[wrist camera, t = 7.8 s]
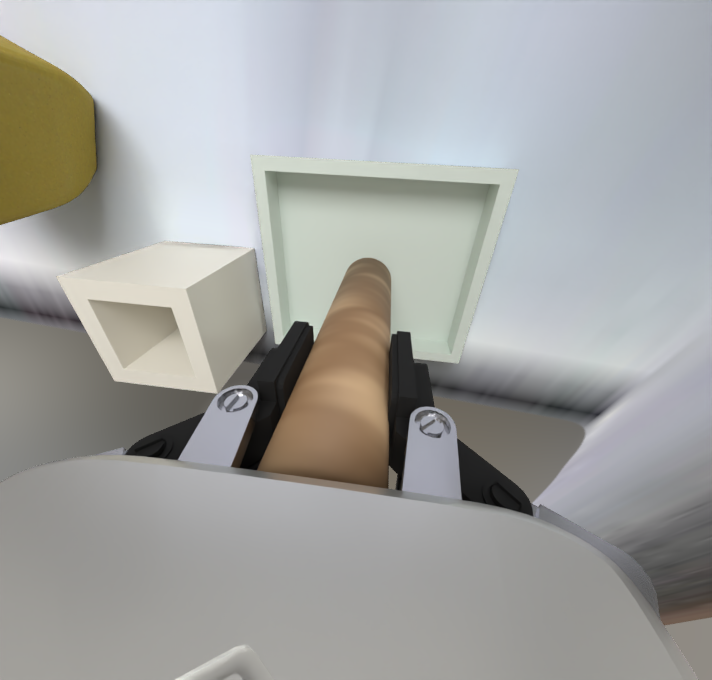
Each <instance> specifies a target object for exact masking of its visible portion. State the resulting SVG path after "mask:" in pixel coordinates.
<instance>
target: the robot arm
mask: <svg viewBox="0 0 712 680" xmlns="http://www.w3.org/2000/svg"><path fill="white" fill-rule="evenodd" d="M313 344H314V332H313V326H309V323H308V322H302V321H295V322H294V323H293V325H292V326H291V328H290V329H289V331H288V333H287V334H286V336H285V337H284V339H283V340H282V342H281V344H280V345H279V347H278V348H272V349H271V350H270V352H269V353H268V355H267V356H266V358H265V359H264V361H263V362H262V364H261V365H260V367H259V368H258V370H257V371H256V373H255V374H254V376H253V377H252V379H251V380H250V382H249V383H248V385H247V386H245V385H237V386H232V387H229V388H227V389H225V390H223V391H221V392H220V393H218V394H217V395H216V397H215V398H214V399H213V401H212V402H211V404H210V406H209V407H208V409H207V411H206V412H205V413H203V414H200V415H197V416H195V417H193V418H190V419H188V420H186V421H183V422H180V423H178V424H176V425H173V426H171V427H168V428H166V429H163V430H161V431H159V432H156V433H154V434H151V435H149V436H147V437H145V438H143V439H141V440H139V441H138V442H137V443H135V444H134V445H133V446H132V447H131V448H130V449H129V450H127V451H126V449H125V448H124V447H123V448H120V449H116V450H112V451H108V452H105V453H100V454H96V455H93V456H82V457H74V458H69V459H63V460H58V461H53V462H48V463H45V464H41V465H38V466H35V467H31V468H29V469H25V470H23V471H21V472H19V473H16V474H14V475H12V476H10V477H8V478H7V479H5V480H3V481H1V482H0V680H698V678H697V676H696V674H695V673H694V671H693V670H692V668H691V666H690V665H689V663H688V662H687V660H686V659H685V657H684V656H683V654H682V652H681V651H680V649H679V648H678V646H677V645H676V643H675V642H674V640H673V638H672V637H671V635H670V634H669V632H668V631H667V629H666V628H665V626H664V625H663V623H662V622H661V620H660V615H659V608H658V602H657V595H656V592H655V589H654V586H653V583H652V581H651V579H650V578H649V577H648V575H647V574H646V572H645V571H644V569H643V568H642V567H641V566H640V565H639V564H638V563H637V562H636V561H635V560H634V559H633V558H632V557H631V556H629V555H628V554H626V553H625V552H623V551H622V550H621V549H619V548H617V547H615V546H614V545H612V544H610V543H608V542H607V541H605V540H603V539H601V538H600V537H598V536H596V535H594V534H592V533H591V532H589V531H587V530H585V529H584V528H582V527H580V526H578V525H577V524H575V523H573V522H571V521H569V520H568V519H566V518H564V517H562V516H561V515H559V514H557V513H555V512H554V511H552V510H550V509H548V508H546V507H545V506H543V505H541V504H540V506H539V507H537V506H535V505H533V504H531V503H530V501H529V499H528V497H527V496H526V494H525V493H524V492H523V491H522V490H521V489H520V488H519V487H518V486H517V485H516V484H515V483H513V482H512V481H511V480H510V479H508V478H507V477H506V476H505V475H503V474H502V473H501V472H500V471H498V470H497V469H496V468H494V467H493V466H492V465H491V464H489V463H488V462H487V461H485V460H484V459H483V458H482V457H480V456H479V455H478V454H477V453H475V452H474V451H473V450H471V449H470V448H468V446H466V445H465V444H464V443H463V442H461V441H460V440H459V439H457V434H456V426H455V423H454V421H453V420H452V418H451V417H450V416H449V415H448V414H447V413H445V412H444V411H442V410H440V409H437V408H435V407H434V401H433V395H432V390H431V384H430V378H429V372H428V367H427V364H421V363H414V361H413V352H412V342H411V333H410V332H404V331H397V334H392V336H391V343H390V351H389V394H388V422H389V466H390V467H391V468H392V469H393V470H394V471H395V472H396V473H397V474H398V475H397V481H396V489H395V490H392V489H386V488H379V487H372V486H365V485H358V484H351V483H344V482H337V481H329V480H322V479H315V478H308V477H301V476H293V475H286V474H279V473H271V472H264V471H257V469H258V467H259V464H260V462H261V460H262V458H263V455H264V453H265V451H266V449H267V447H268V444H269V442H270V440H271V438H272V436H273V433H274V431H275V429H276V427H277V424H278V422H279V420H280V418H281V416H282V413H283V411H284V409H285V407H286V404H287V402H288V400H289V398H290V396H291V393H292V391H293V389H294V387H295V384H296V382H297V380H298V378H299V376H300V373H301V371H302V369H303V367H304V364H305V362H306V360H307V358H308V356H309V353H310V351H311V349H312V347H313Z"/></svg>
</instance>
